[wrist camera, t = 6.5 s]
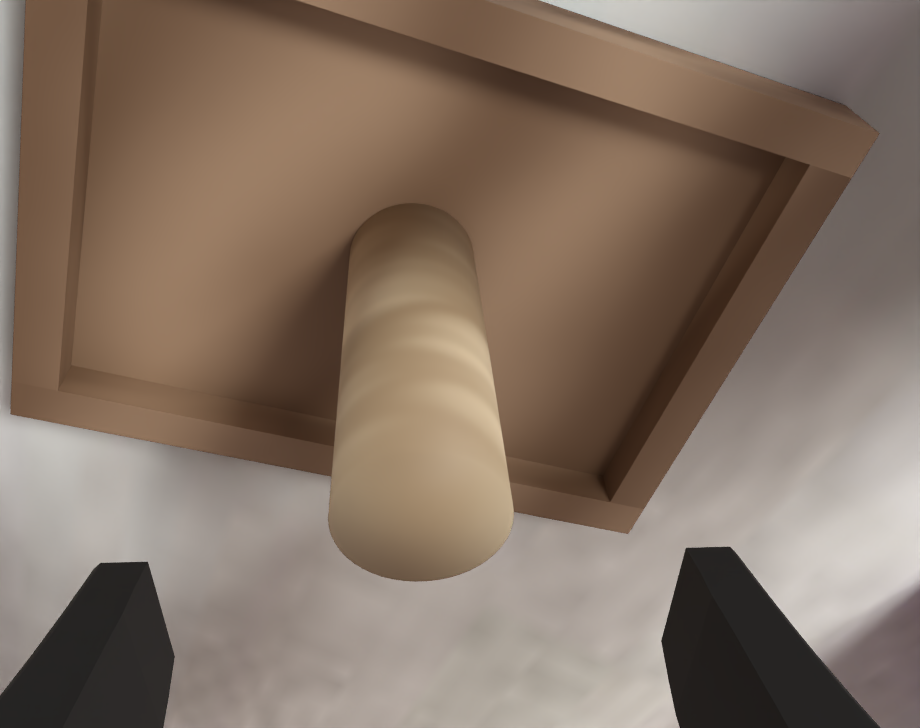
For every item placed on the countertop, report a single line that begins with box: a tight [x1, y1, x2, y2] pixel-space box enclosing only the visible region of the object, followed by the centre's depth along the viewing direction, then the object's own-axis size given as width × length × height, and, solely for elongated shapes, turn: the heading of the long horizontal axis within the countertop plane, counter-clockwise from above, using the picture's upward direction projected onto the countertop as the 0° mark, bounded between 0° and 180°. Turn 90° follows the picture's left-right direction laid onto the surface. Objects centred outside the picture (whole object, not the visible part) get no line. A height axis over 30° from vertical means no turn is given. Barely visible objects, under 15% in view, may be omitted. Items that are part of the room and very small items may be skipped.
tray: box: [11, 0, 880, 534], centre depth 19 cm, size 16×12×2 cm
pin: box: [328, 203, 514, 581], centre depth 16 cm, size 3×3×8 cm
